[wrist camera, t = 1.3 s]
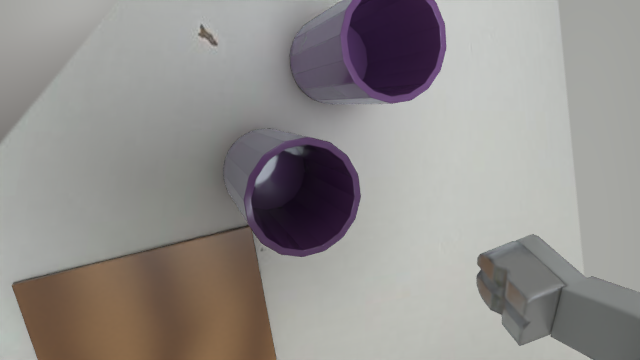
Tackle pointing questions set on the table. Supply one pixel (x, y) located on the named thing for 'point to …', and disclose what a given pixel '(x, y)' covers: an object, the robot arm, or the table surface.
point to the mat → (154, 305)
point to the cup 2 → (370, 51)
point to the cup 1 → (292, 190)
